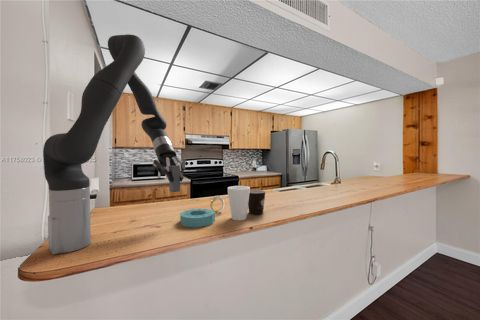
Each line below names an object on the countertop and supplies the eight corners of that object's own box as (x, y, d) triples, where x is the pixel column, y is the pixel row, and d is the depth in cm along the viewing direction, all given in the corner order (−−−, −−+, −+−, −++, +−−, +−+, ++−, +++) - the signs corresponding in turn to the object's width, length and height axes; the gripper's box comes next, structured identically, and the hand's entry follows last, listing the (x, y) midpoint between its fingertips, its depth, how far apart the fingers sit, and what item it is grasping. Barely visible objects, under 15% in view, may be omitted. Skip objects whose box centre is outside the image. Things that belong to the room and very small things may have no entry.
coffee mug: (253, 216, 89) (253, 193, 89) (243, 212, 96) (243, 190, 96) (274, 213, 94) (274, 191, 94) (263, 208, 102) (263, 188, 102)
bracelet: (211, 214, 93) (211, 196, 93) (209, 212, 96) (209, 195, 95) (225, 212, 96) (225, 195, 96) (223, 210, 99) (223, 194, 98)
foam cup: (254, 218, 87) (254, 187, 87) (238, 223, 81) (238, 190, 81) (239, 213, 94) (239, 185, 94) (223, 217, 88) (223, 187, 88)
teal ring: (195, 229, 74) (194, 220, 74) (173, 222, 82) (173, 213, 82) (221, 220, 84) (221, 212, 84) (199, 214, 92) (199, 207, 92)
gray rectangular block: (172, 192, 78) (172, 166, 78) (169, 191, 80) (169, 165, 80) (180, 191, 80) (179, 165, 80) (176, 190, 82) (176, 165, 82)
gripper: (149, 142, 81) (161, 175, 72) (182, 143, 90) (196, 173, 81) (144, 155, 85) (156, 188, 76) (177, 155, 94) (190, 184, 85)
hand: (177, 180), depth 79 cm, fingers closed on gray rectangular block, 3 cm apart
